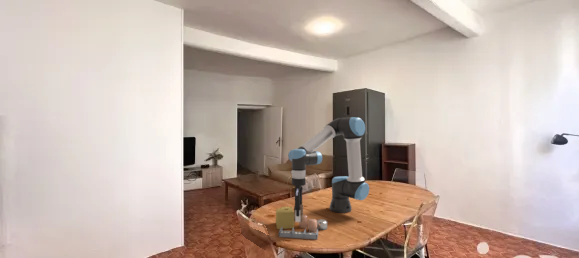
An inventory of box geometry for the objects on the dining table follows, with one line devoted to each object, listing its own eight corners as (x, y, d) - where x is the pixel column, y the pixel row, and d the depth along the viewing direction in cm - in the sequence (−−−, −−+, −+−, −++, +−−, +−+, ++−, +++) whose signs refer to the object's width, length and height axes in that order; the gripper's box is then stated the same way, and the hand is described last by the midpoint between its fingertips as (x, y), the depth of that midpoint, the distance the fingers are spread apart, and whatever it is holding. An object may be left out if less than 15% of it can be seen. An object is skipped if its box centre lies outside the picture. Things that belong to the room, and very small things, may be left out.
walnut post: (295, 218, 147) (295, 204, 147) (303, 219, 146) (303, 204, 146) (293, 221, 143) (293, 206, 143) (302, 222, 142) (302, 207, 142)
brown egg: (308, 225, 158) (307, 215, 158) (307, 228, 153) (307, 218, 153) (299, 224, 159) (299, 214, 159) (298, 227, 154) (298, 217, 154)
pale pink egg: (317, 229, 152) (317, 219, 151) (316, 233, 147) (316, 222, 146) (308, 228, 152) (308, 218, 152) (307, 232, 147) (307, 221, 147)
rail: (318, 233, 146) (318, 228, 146) (317, 239, 138) (317, 234, 138) (281, 231, 149) (281, 226, 149) (278, 236, 142) (278, 232, 142)
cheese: (275, 222, 162) (275, 206, 162) (293, 222, 163) (292, 206, 163) (276, 229, 152) (276, 212, 152) (294, 228, 153) (294, 211, 152)
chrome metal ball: (327, 226, 156) (327, 219, 156) (327, 230, 150) (327, 223, 150) (317, 225, 157) (317, 219, 157) (316, 229, 151) (316, 222, 151)
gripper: (294, 174, 153) (294, 214, 154) (289, 180, 136) (289, 225, 137) (307, 174, 152) (307, 214, 153) (303, 181, 135) (303, 226, 135)
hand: (298, 219), depth 145 cm, fingers closed on walnut post, 4 cm apart
